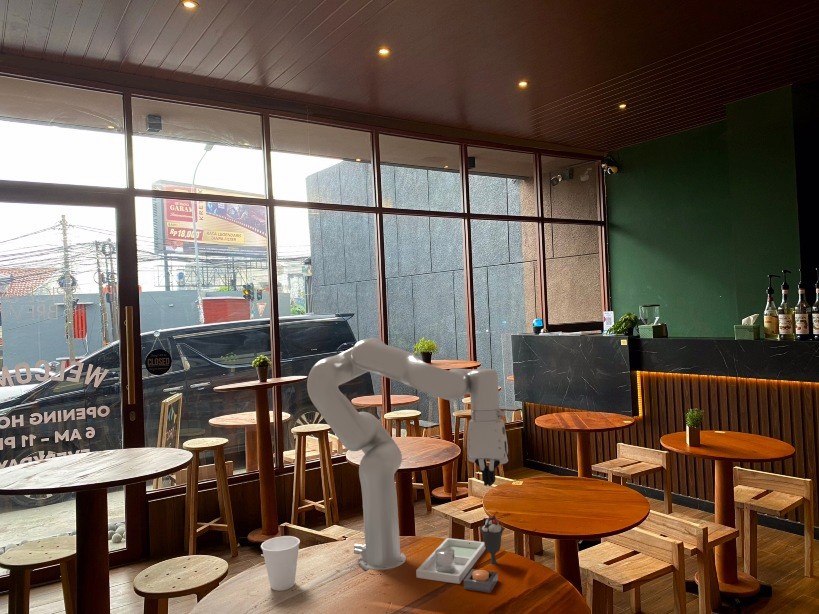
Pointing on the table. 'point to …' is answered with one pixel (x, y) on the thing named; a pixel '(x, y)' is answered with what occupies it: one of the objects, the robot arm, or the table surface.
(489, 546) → the sundae
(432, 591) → the table surface
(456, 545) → the shallow white tray
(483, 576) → the button cap
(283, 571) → the cup
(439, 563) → the cylinder
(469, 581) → the button housing
